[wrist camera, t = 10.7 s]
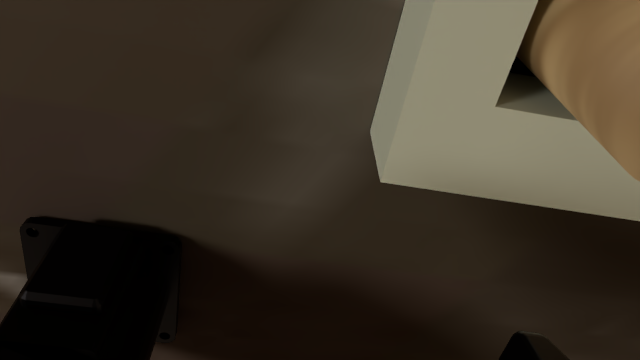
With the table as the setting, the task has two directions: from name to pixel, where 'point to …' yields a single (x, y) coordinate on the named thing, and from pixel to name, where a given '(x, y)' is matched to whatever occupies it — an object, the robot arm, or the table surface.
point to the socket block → (486, 116)
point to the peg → (591, 68)
